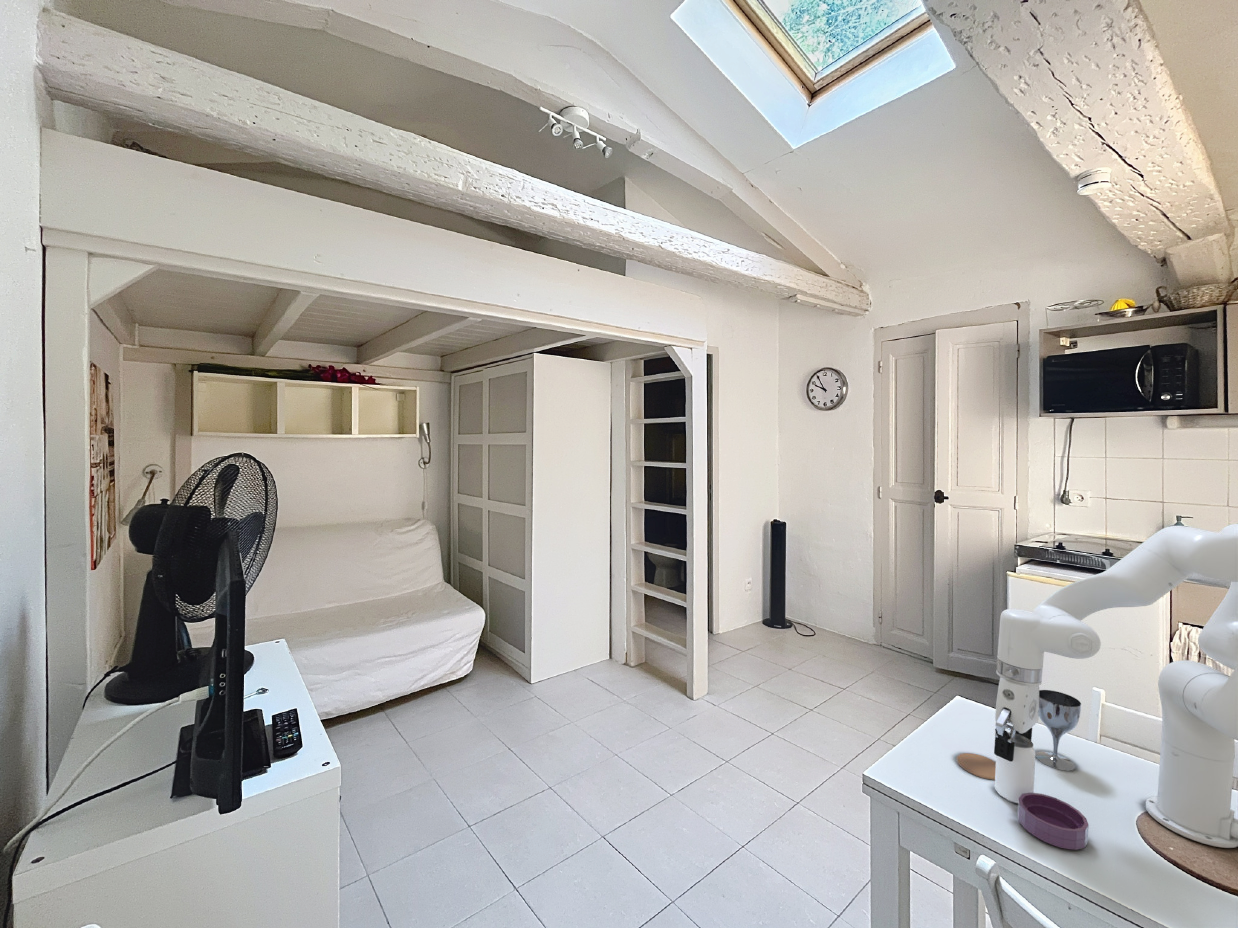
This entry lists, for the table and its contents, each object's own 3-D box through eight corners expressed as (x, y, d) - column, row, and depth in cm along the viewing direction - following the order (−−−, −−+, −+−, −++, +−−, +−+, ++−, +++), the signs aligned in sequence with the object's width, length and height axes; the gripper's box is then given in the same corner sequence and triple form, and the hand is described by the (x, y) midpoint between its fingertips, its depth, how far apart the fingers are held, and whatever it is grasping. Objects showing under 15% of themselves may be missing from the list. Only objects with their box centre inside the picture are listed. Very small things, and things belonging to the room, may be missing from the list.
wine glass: (1073, 757, 123) (1077, 695, 122) (1080, 775, 116) (1084, 710, 116) (1031, 746, 127) (1034, 686, 127) (1035, 763, 121) (1038, 700, 120)
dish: (1094, 835, 99) (1095, 815, 99) (1077, 860, 93) (1078, 839, 93) (1028, 804, 107) (1029, 785, 107) (1009, 825, 101) (1010, 805, 101)
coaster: (1011, 769, 118) (1011, 768, 118) (995, 784, 113) (995, 783, 113) (966, 750, 126) (966, 748, 126) (949, 763, 121) (949, 761, 121)
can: (1039, 807, 106) (1043, 750, 106) (1004, 803, 108) (1007, 746, 107) (1022, 786, 113) (1025, 732, 112) (988, 782, 114) (991, 729, 113)
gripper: (1025, 688, 101) (1018, 774, 102) (1055, 667, 111) (1049, 745, 112) (980, 673, 107) (974, 754, 108) (1013, 654, 117) (1007, 728, 118)
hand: (1012, 749), depth 110 cm, fingers open, 9 cm apart
